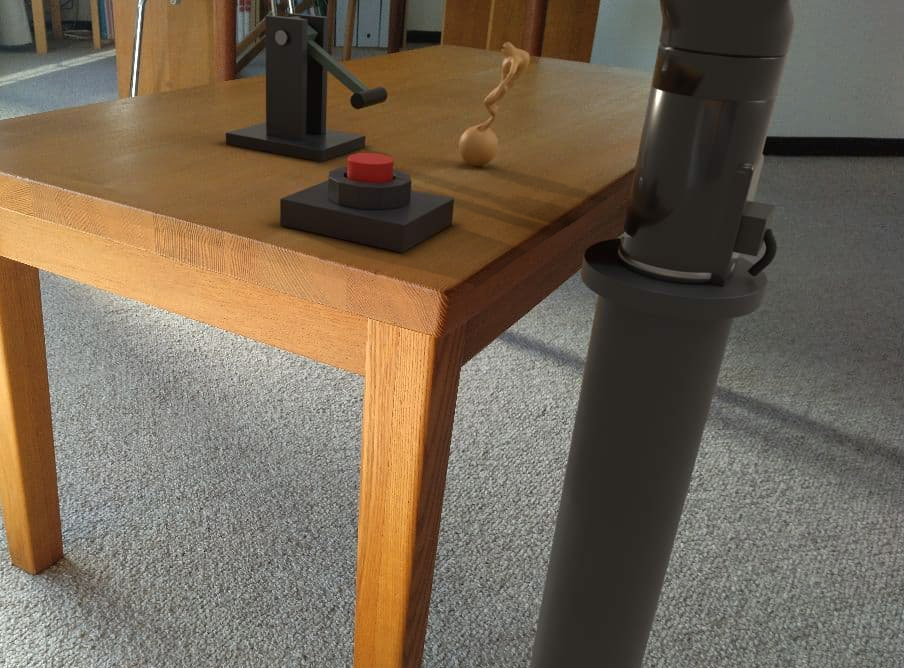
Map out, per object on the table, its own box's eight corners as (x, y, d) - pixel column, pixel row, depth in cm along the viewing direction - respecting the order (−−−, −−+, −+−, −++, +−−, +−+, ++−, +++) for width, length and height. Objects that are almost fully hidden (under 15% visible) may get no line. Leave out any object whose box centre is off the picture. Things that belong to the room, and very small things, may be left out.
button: (400, 179, 71) (401, 157, 70) (378, 189, 68) (380, 166, 68) (361, 172, 73) (362, 150, 72) (338, 181, 70) (339, 158, 69)
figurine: (462, 154, 96) (474, 34, 90) (518, 160, 95) (534, 39, 89) (451, 173, 89) (464, 43, 83) (512, 179, 88) (529, 48, 82)
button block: (452, 224, 74) (456, 176, 72) (402, 253, 67) (406, 200, 65) (337, 200, 78) (339, 154, 76) (279, 225, 71) (279, 175, 69)
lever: (380, 109, 92) (392, 89, 91) (356, 116, 88) (368, 95, 87) (295, 35, 94) (305, 15, 92) (268, 39, 90) (278, 18, 88)
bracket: (365, 146, 97) (371, 19, 91) (321, 162, 90) (324, 25, 84) (273, 130, 102) (273, 8, 96) (225, 144, 95) (222, 13, 89)
